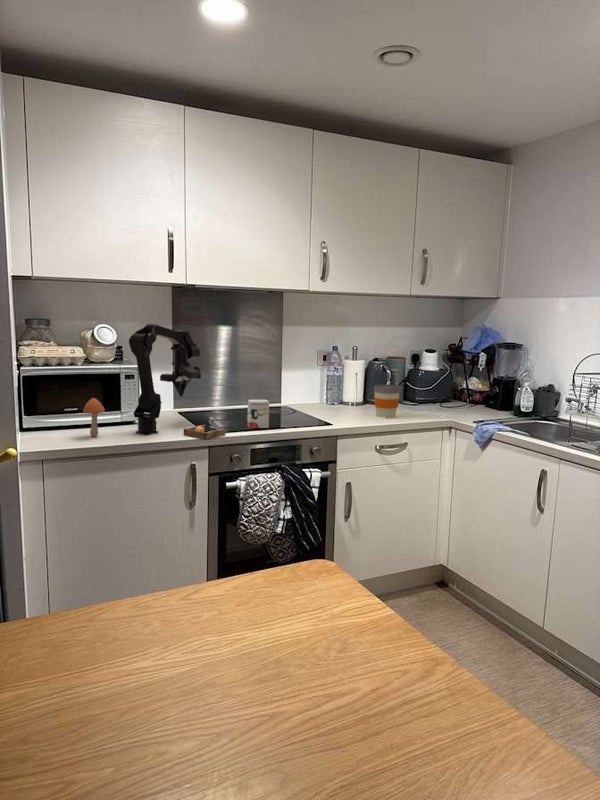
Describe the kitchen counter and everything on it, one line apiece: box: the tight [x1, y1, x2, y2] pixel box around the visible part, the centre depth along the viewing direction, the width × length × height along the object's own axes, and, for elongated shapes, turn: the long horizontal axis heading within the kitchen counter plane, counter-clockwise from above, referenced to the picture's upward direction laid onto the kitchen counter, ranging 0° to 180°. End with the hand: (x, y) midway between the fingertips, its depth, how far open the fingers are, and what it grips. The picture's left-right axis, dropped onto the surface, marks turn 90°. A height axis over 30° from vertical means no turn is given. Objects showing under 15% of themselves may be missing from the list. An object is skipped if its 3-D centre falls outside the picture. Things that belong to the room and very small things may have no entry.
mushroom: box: [82, 397, 106, 437], centre depth 219 cm, size 8×8×15 cm
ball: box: [195, 425, 205, 432], centre depth 226 cm, size 4×4×4 cm
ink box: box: [246, 399, 270, 430], centre depth 243 cm, size 9×5×12 cm, turn 105°
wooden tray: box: [183, 424, 226, 440], centre depth 227 cm, size 11×12×2 cm
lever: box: [208, 416, 224, 430], centre depth 239 cm, size 3×21×3 cm, turn 20°
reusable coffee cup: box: [373, 384, 401, 419], centre depth 276 cm, size 13×13×15 cm
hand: (181, 396), depth 246 cm, fingers closed
